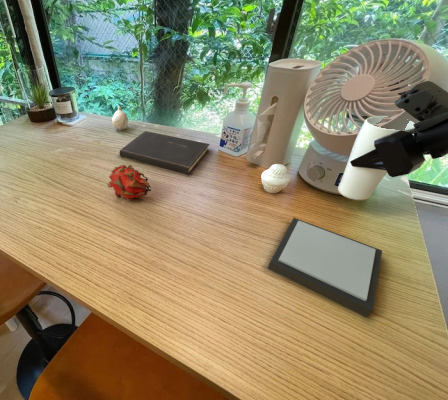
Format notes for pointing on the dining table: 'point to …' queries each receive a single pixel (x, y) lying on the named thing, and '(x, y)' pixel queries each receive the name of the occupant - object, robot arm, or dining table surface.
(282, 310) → the dining table surface
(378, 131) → the white cup
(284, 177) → the muffin
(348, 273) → the scale
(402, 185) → the dining table surface
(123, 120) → the garlic bulb
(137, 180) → the dragon fruit
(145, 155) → the hardcover book
